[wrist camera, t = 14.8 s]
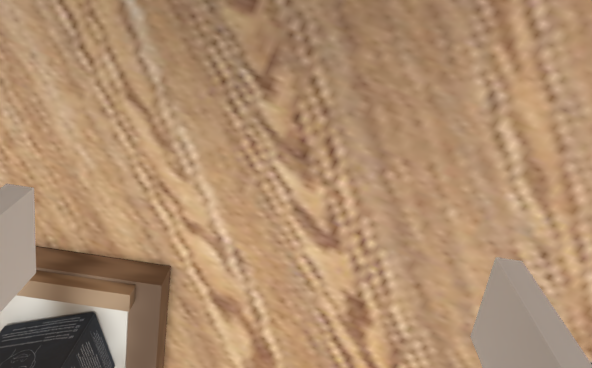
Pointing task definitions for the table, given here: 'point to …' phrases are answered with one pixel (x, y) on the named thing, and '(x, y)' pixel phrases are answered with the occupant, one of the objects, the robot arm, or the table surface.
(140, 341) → the stand
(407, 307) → the table surface
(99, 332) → the box
